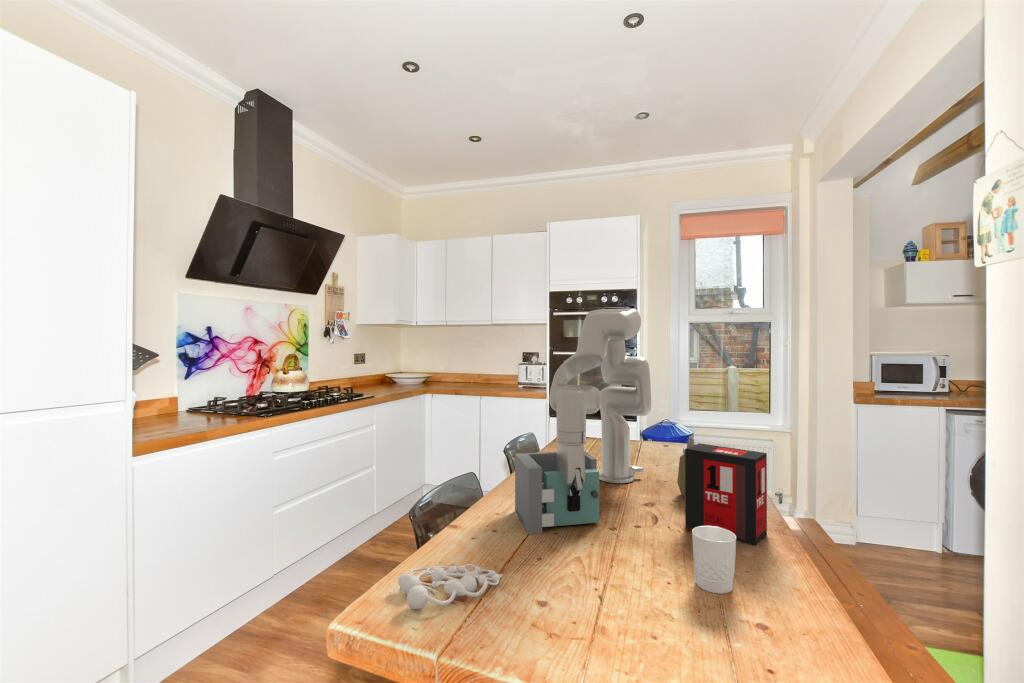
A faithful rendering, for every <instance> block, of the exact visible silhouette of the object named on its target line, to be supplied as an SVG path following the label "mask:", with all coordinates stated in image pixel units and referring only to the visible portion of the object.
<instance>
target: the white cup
mask: <svg viewBox="0 0 1024 683" xmlns="http://www.w3.org/2000/svg"><path fill="white" fill-rule="evenodd" d="M691 537H692V553H693V554H692V556H693V558H692V559H693V567H694V581H695V584H696V585H697V587H699V588H701V589H702V590H704V591H706V592H709V593H714V594H720V595H721V594H722V595H723V594H724V595H725V594H728V593H730V592H733V589H734V576H735V567H736V552H737V550H736V549H737V541H736V535H735V534H734V533H732V532H731V531H729V530H726V529H723V528H720V527H714V526H698V527H695V528H694V529H691Z"/></svg>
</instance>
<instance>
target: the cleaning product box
mask: <svg viewBox="0 0 1024 683" xmlns="http://www.w3.org/2000/svg"><path fill="white" fill-rule="evenodd" d="M685 448H686V449H685V497H684V500H685V501H684V502H685V504H684V505H685V511H684V514H685V518H684V520H685V528H687V529H690V530H693V529H694V528H695V527H698V526H714V527H720V528H723V529H726V530H729V531H731V532H732V533H734V534H735V535H736V542H738V543H742V544H746V545H750V546H752V547H757V545H759V543H760V542H762V541H763V539H765V538H766V536H768V530H767V529H768V528H767V526H768V521H767V518H768V512H767V511H768V510H767V508H768V506H767V505H768V498H767V497H768V496H767V495H768V490H767V489H768V487H767V486H768V485H767V482H768V479H767V478H768V477H767V476H768V475H767V474H768V473H767V470H768V469H767V466H768V464H767V463H768V462H767V460H768V459H767V458H768V457H767V456H768V454H767V452H761V451H757V450H756V451H755V450H747V449H743V448H742V449H741V448H734V447H727V446H721V445H720V446H719V445H712V444H706V443H696V444H695V445H693V446H691V447H688V448H687V447H685Z"/></svg>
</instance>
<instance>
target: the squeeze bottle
mask: <svg viewBox="0 0 1024 683" xmlns="http://www.w3.org/2000/svg"><path fill="white" fill-rule="evenodd" d="M693 445H696V444H695V440H694V436H689V437H688V440H687V445H686V447H683V448H682V454H681V456H679V461H678V462H679V463H678V471H677V472H678V473H677V479H676V480H677V482H676V483H677V486H678V489H679V492H680V495H681V496H682V497H684V498H685V449H686V448H688V447H691V446H693Z"/></svg>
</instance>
